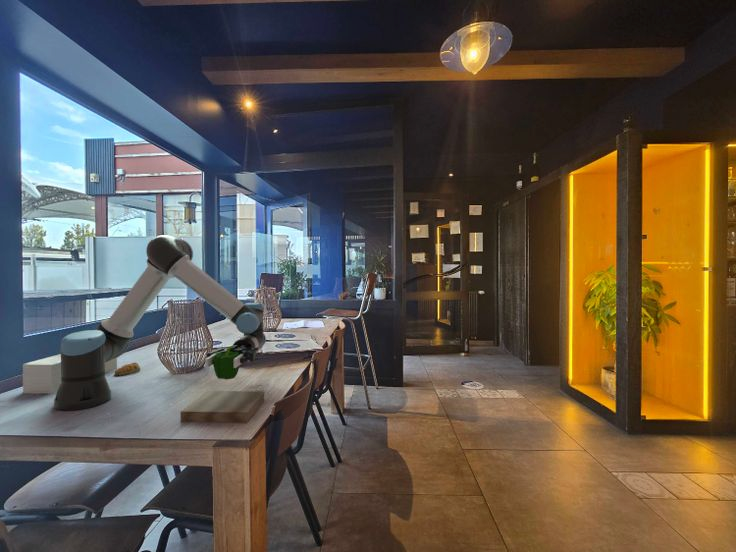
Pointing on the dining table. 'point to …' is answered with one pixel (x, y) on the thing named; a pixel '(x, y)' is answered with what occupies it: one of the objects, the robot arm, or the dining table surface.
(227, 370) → the bell pepper
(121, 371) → the pastry
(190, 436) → the dining table surface
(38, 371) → the long cream beam
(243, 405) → the walnut board
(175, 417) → the dining table surface
